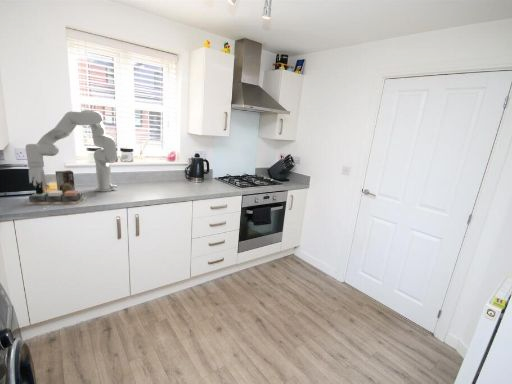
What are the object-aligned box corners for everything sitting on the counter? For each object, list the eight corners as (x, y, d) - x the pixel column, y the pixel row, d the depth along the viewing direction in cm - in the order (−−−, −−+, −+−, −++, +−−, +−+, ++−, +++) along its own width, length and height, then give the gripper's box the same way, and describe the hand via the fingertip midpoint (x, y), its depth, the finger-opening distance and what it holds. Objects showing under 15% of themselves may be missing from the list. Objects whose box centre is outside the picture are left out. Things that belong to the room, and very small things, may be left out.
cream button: (62, 195, 171) (62, 190, 171) (59, 198, 166) (59, 192, 165) (52, 195, 169) (51, 190, 169) (48, 198, 164) (48, 193, 163)
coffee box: (72, 191, 192) (70, 170, 188) (75, 193, 188) (73, 171, 184) (57, 193, 185) (55, 171, 181) (60, 195, 181) (58, 172, 177)
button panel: (83, 198, 178) (82, 192, 177) (78, 203, 168) (77, 196, 167) (34, 199, 169) (33, 192, 168) (26, 204, 159) (25, 197, 158)
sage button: (47, 197, 169) (46, 192, 168) (43, 200, 163) (43, 195, 163) (36, 198, 167) (35, 192, 166) (32, 200, 161) (31, 195, 161)
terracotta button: (78, 195, 174) (77, 190, 173) (75, 198, 169) (75, 192, 168) (67, 195, 172) (67, 190, 171) (64, 198, 167) (64, 192, 166)
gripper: (33, 162, 165) (37, 190, 170) (22, 166, 152) (26, 196, 156) (48, 162, 168) (51, 190, 172) (38, 166, 154) (42, 196, 159)
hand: (39, 193), depth 164 cm, fingers closed
